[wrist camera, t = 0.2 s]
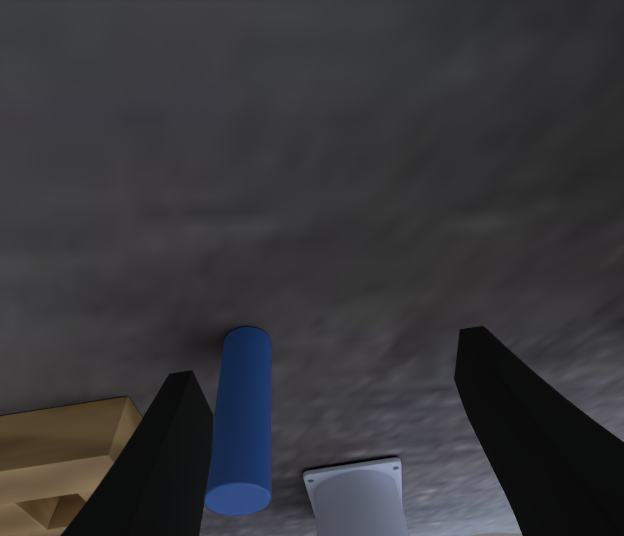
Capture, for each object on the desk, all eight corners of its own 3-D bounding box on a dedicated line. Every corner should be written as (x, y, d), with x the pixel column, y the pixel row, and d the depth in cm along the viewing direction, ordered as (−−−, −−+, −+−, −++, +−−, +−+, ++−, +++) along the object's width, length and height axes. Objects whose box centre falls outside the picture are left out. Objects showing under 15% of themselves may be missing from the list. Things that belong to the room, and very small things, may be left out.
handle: (275, 355, 25) (276, 511, 18) (230, 362, 25) (213, 520, 18) (266, 322, 23) (263, 479, 16) (218, 330, 23) (194, 489, 16)
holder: (183, 479, 33) (173, 535, 29) (49, 500, 33) (25, 557, 30) (128, 396, 26) (108, 455, 23) (-39, 421, 26) (-82, 484, 23)
